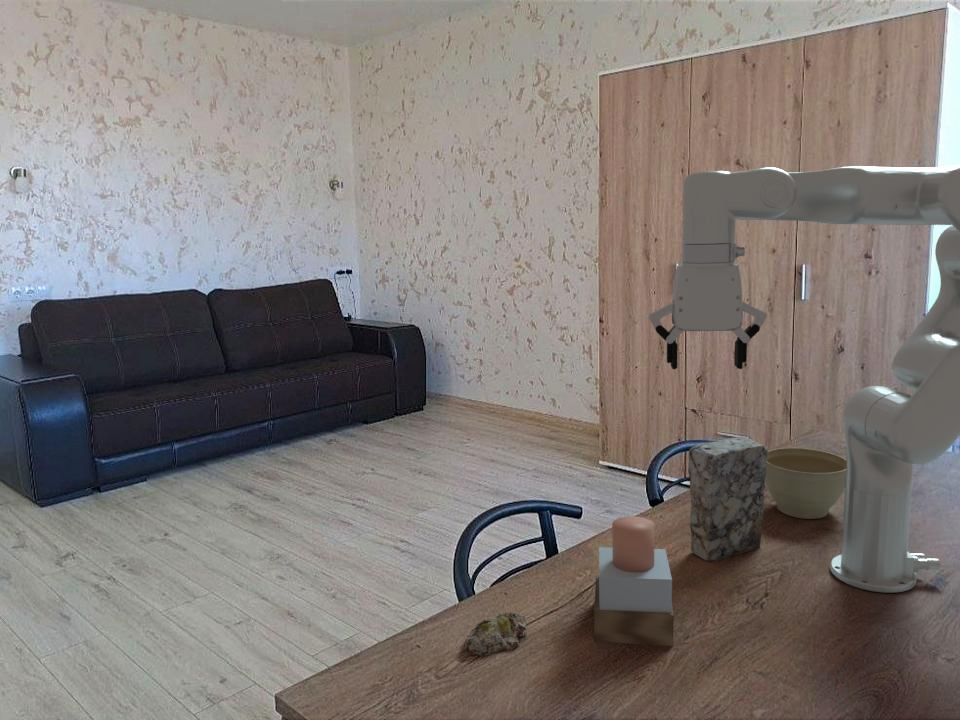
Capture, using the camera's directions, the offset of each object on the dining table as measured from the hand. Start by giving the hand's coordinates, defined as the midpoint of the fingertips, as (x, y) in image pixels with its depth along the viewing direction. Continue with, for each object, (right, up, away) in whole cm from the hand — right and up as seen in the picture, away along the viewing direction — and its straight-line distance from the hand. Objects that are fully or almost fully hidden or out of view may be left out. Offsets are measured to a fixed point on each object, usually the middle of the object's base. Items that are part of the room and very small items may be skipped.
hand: (705, 367), depth 117 cm
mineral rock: (-33, -40, -7) cm, 52 cm away
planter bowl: (+30, -30, +36) cm, 55 cm away
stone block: (+9, -33, +19) cm, 40 cm away
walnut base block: (-12, -38, -4) cm, 40 cm away
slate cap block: (-12, -34, -5) cm, 36 cm away
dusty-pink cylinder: (-12, -29, -6) cm, 32 cm away
